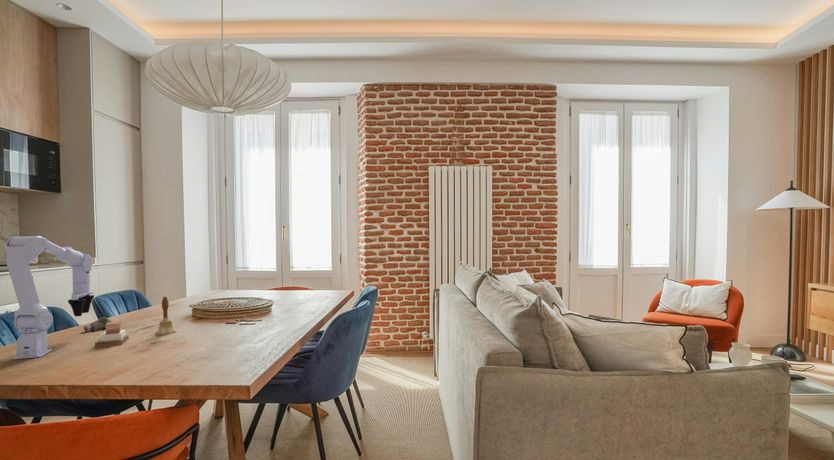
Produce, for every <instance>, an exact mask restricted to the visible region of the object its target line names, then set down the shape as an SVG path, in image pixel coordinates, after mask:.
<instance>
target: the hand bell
mask: <svg viewBox="0 0 834 460" xmlns="http://www.w3.org/2000/svg"><path fill="white" fill-rule="evenodd" d="M161 308H162V311H163V313H162V315H163V317H162V319H161V320H160V321H159V326H158V328H157V330H156V331H155V332H154V335H157V336H160V335H162V336H163V335H171V334H174V333H177V329H176V328H175V326H173V323H172V319H171V318H169V316H168V314H169V313H168V309H169V300H168V298H167V296H163V297H162V300H161Z"/></svg>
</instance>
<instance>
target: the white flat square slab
mask: <svg viewBox="0 0 834 460" xmlns="http://www.w3.org/2000/svg"><path fill="white" fill-rule="evenodd" d="M126 333H127V332H126V329H121V332H120V333H118V334H109V335H106V330H105V331H104V332H102V333H101V334H100V337H99V340H100V342H101V341H112V340H122V339H123V338H124V337H125V336H126Z"/></svg>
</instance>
